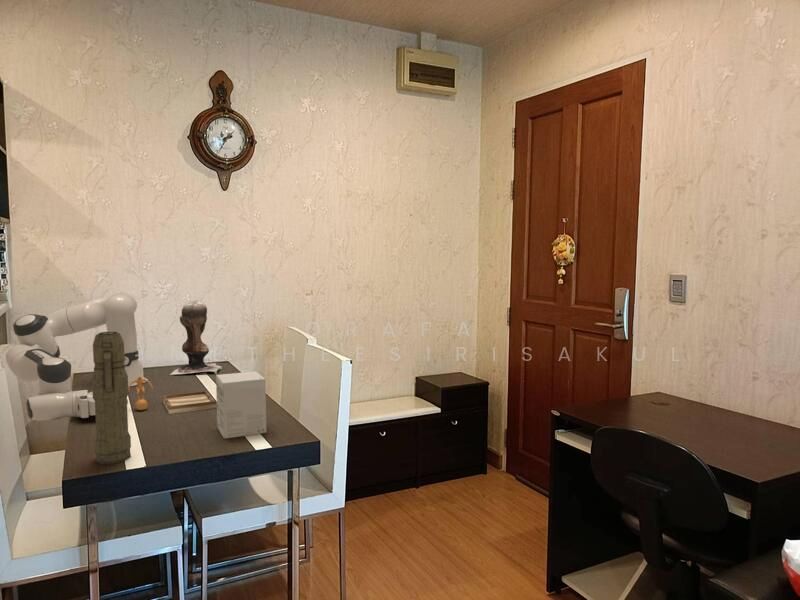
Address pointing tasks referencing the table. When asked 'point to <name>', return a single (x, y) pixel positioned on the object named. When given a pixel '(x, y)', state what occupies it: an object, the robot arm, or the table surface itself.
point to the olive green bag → (110, 399)
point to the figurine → (142, 403)
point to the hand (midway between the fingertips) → (127, 398)
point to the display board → (188, 402)
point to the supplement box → (241, 404)
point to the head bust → (195, 339)
